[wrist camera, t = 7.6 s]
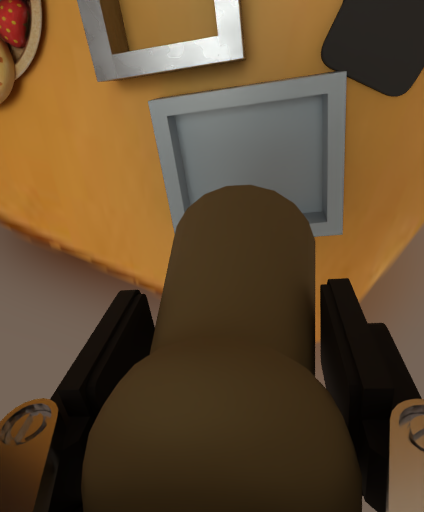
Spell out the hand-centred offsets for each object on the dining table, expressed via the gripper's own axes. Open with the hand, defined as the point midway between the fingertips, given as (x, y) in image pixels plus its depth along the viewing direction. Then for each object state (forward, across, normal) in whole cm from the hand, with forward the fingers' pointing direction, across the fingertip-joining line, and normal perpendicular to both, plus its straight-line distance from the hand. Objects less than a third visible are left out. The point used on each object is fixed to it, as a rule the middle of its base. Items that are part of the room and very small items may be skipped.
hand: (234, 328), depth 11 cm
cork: (+5, 0, 0) cm, 5 cm away
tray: (+23, 0, 0) cm, 23 cm away
